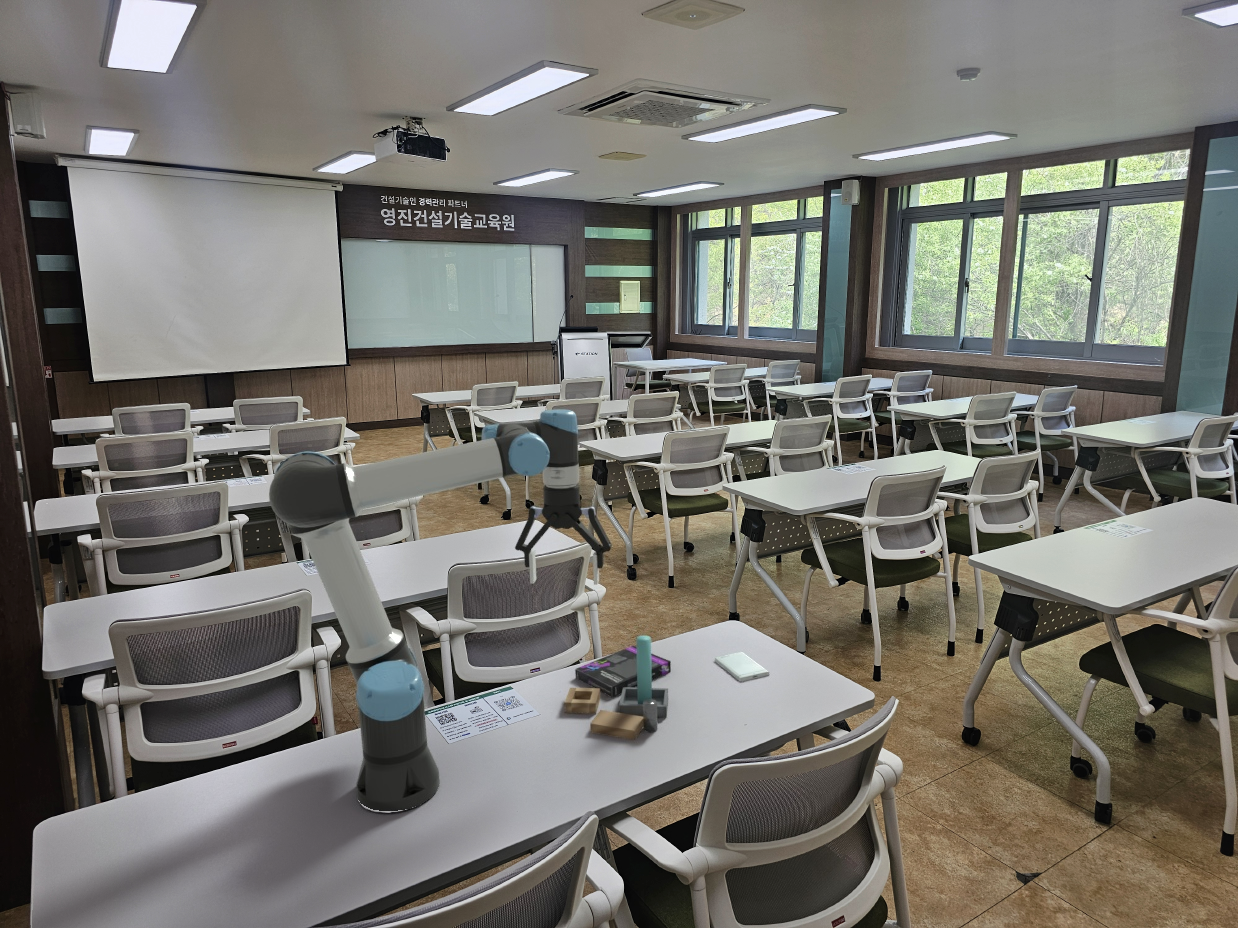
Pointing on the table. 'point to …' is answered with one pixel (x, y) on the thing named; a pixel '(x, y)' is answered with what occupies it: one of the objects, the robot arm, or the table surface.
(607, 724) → the tan block
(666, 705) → the tray
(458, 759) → the table surface
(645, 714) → the bench dog
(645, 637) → the dowel
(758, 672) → the hard drive
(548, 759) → the table surface
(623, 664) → the box
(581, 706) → the socket block
